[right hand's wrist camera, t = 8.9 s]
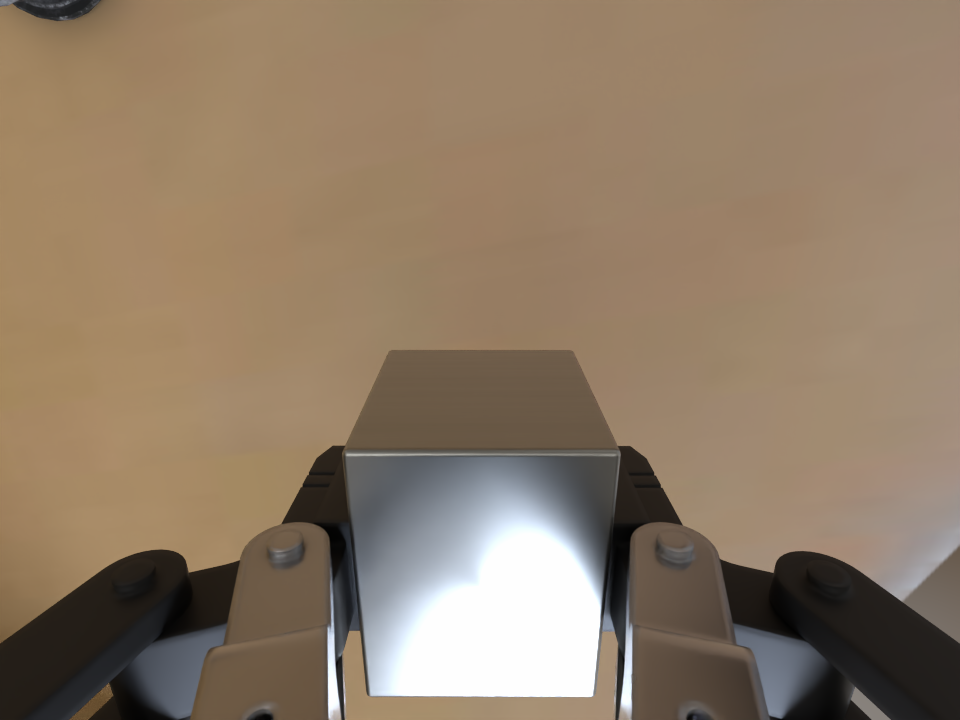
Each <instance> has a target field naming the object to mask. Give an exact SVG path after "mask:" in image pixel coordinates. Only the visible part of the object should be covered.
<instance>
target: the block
mask: <svg viewBox="0 0 960 720" xmlns="http://www.w3.org/2000/svg"><path fill="white" fill-rule="evenodd" d="M342 457H343V467H344V477H345V487H346V497H347V506H348V516H349V526H350V536H351V546H352V556H353V566H354V575H355V585H356V595H357V605H358V615H359V625H360V634H361V644H362V654H363V664H364V674H365V684H366V692H367V695H368V696H370V697H592V696H594V695H595V693H596V687H597V677H598V668H599V658H600V649H601V639H602V629H603V620H604V610H605V601H606V591H607V581H608V572H609V562H610V553H611V543H612V533H613V524H614V514H615V505H616V495H617V485H618V476H619V466H620V457H621V453H620V450H619V448H618V446H617V444H616V442H615V439H614V437H613V435H612V433H611V431H610V429H609V427H608V425H607V422H606V420H605V418H604V416H603V414H602V412H601V410H600V408H599V405H598V403H597V401H596V399H595V397H594V395H593V393H592V391H591V388H590V386H589V384H588V382H587V380H586V378H585V376H584V374H583V371H582V369H581V367H580V365H579V363H578V361H577V359H576V357H575V354H574V352H573V351H570V350H392V351H389V353H388V355H387V357H386V359H385V361H384V364H383V366H382V368H381V370H380V372H379V374H378V376H377V379H376V381H375V383H374V385H373V387H372V389H371V392H370V394H369V396H368V398H367V400H366V402H365V404H364V407H363V409H362V411H361V413H360V415H359V417H358V420H357V422H356V424H355V426H354V428H353V430H352V432H351V435H350V437H349V439H348V441H347V443H346V445H345V448H344V450H343V453H342Z"/></svg>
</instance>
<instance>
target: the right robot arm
mask: <svg viewBox="0 0 960 720" xmlns="http://www.w3.org/2000/svg"><path fill="white" fill-rule="evenodd" d="M344 448H345V446H332V447H331V448H329V449H328V450H327V451H325V452H324V453H323V454H321V455H320V456H319V457H318V458H317V459H316V460H315V462H314V464H313V466H312V468H311V470H310V472H309V475H307V477H306V479H305V481H304V483H303V487H301V488H300V490H299V492H298V494H297V496H296V498H295V500H294V502H293V503H292V505H291V507H290V509H289V511H288V513H287V515H286V516H285V518H284V520H283V522H282V524H281V525H278V526H275V527H272V528H270V529H267V530H265V531H264V532H262V533H260V534H259V535H257V536H256V537H254V538H253V539H252V540H251V541H250V542H249V543H248V544H247V545H246V546H245V548H244V550H243V552H242V555H241V558H240V560H239V561H236V562H233V563H230V564H226V565H222V566H217V567H213V568H208V569H204V570H199V571H195V572H190V573H189V572H188V568H187V564H186V561H185V559H184V557H183V556H182V555H180V554H179V553H177V552H174V551H170V550H150V551H144V552H140V553H136V554H133V555H130V556H128V557H125V558H123V559H121V560H118V561H116V562H115V563H113V564H111V565H109V566H108V567H106V568H105V569H103V570H102V571H100V572H99V573H97V574H96V575H95V576H93V577H92V578H90V579H89V580H88V581H86V582H85V583H84V584H82V585H81V586H79V587H78V588H77V589H75V590H74V591H72V592H71V593H70V594H68V595H67V596H66V597H64V598H63V599H61V600H60V601H59V602H57V603H56V604H54V605H53V606H52V607H50V608H49V609H48V610H46V611H45V612H43V613H42V614H41V615H39V616H38V617H36V618H35V619H34V620H32V621H31V622H30V623H28V624H27V625H25V626H24V627H23V628H21V629H20V630H18V631H17V632H16V633H14V634H13V635H12V636H10V637H9V638H7V639H6V640H5V641H3V642H2V643H0V720H69V719H70V718H71V717H72V716H73V715H75V714H76V713H77V712H78V711H79V710H80V709H81V708H82V707H83V706H84V705H85V704H86V703H87V702H89V701H90V700H91V699H92V698H93V697H94V696H95V695H96V694H97V693H98V692H99V691H100V690H101V689H103V688H104V687H105V686H106V685H107V684H108V683H109V684H110V687H111V690H112V693H113V697H112V698H111V699H110V700H109V701H108V702H107V703H105V704H104V705H103V706H102V707H101V708H100V709H99V710H98V711H97V712H96V713H95V714H94V715H93V716H92V717H91V718H90V719H89V720H347V719H346V695H345V672H344V658H343V650H344V647H345V644H346V640H347V636H348V633H349V631H360V625H359V615H358V605H357V595H356V585H355V575H354V566H353V556H352V546H351V536H350V526H349V516H348V506H347V497H346V487H345V477H344V467H343V457H342V453H343V450H344ZM618 448H619V450H620V453H621V457H620V466H619V476H618V485H617V495H616V505H615V514H614V524H613V533H612V543H611V553H610V562H609V572H608V581H607V591H606V601H605V610H604V620H603V629H602V631H615V634H616V637H617V641H618V650H617V658H616V672H615V696H614V719H613V720H871V719H870V718H869V717H868V716H867V715H866V714H865V713H864V712H863V711H862V710H861V709H860V708H859V707H858V706H857V705H856V704H855V703H854V702H852V701H851V697H852V694H853V691H854V688H855V687H856V688H857V689H859V690H860V691H861V692H862V693H863V694H864V695H865V696H866V697H867V698H868V699H869V700H870V701H871V702H873V703H874V704H875V705H876V706H877V707H878V708H879V709H880V710H881V711H882V712H883V713H884V714H885V715H887V716H888V717H889V718H890V719H891V720H960V643H958V642H957V641H955V640H954V639H953V638H951V637H950V636H948V635H947V634H946V633H944V632H943V631H942V630H940V629H939V628H937V627H936V626H935V625H933V624H932V623H930V622H929V621H928V620H926V619H925V618H924V617H922V616H921V615H919V614H918V613H917V612H915V611H914V610H912V609H911V608H910V607H908V606H907V605H906V604H904V603H903V602H901V601H900V600H899V599H897V598H896V597H894V596H893V595H892V594H890V593H889V592H888V591H886V590H885V589H883V588H882V587H881V586H879V585H878V584H876V583H875V582H874V581H872V580H871V579H870V578H868V577H867V576H865V575H864V574H863V573H861V572H860V571H858V570H857V569H855V568H854V567H852V566H850V565H848V564H847V563H845V562H843V561H840V560H838V559H836V558H833V557H830V556H827V555H824V554H820V553H815V552H807V551H795V552H790V553H787V554H784V555H783V556H781V557H780V558H779V559H778V560H777V562H776V565H775V569H774V573H771V572H766V571H762V570H757V569H753V568H748V567H744V566H739V565H736V564H732V563H729V562H726V561H723V560H721V559H720V558H719V555H718V552H717V550H716V548H715V546H714V545H713V544H712V543H711V542H710V541H709V540H708V539H707V538H706V537H704V536H703V535H701V534H700V533H698V532H696V531H695V530H693V529H690V528H688V527H685V526H683V525H682V523H681V521H680V519H679V517H678V516H677V514H676V512H675V510H674V508H673V506H672V505H671V503H670V501H669V499H668V497H667V495H666V494H665V492H664V490H663V488H661V484H660V483H659V481H658V479H657V477H656V476H654V472H653V470H652V468H651V466H650V464H649V462H648V461H647V459H646V458H645V457H644V456H642V455H641V454H640V453H638V452H637V451H636V450H635V449H633V448H632V447H631V446H618Z"/></svg>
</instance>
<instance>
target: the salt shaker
mask: <svg viewBox="0 0 960 720" xmlns="http://www.w3.org/2000/svg"><path fill="white" fill-rule="evenodd" d="M99 1H100V0H0V6H8V5H10V4H12V3H13V4H14V5H15V6H16V7H18V8H19V9H21V10H23V11H25V12H28V13H30V14H32V15H34V16H36V17H39V18H44V19H49V20H55V21H61V20H71V19H75V18H77V17H80V16H82V15H84V14H86V13H88V12H89V11H90V10H91V9H92V8H93V7H94V6H95V5H96V4H97V3H98V2H99Z"/></svg>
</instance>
